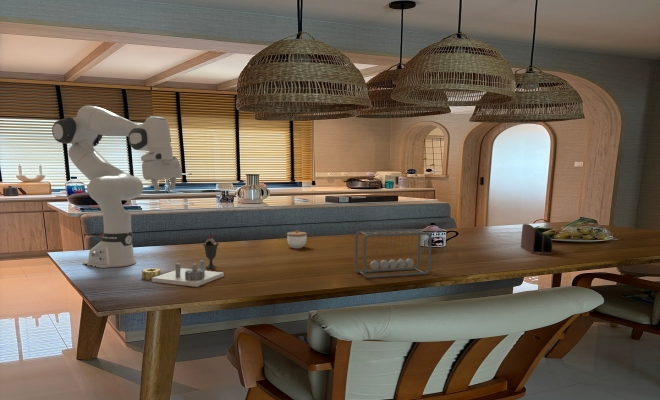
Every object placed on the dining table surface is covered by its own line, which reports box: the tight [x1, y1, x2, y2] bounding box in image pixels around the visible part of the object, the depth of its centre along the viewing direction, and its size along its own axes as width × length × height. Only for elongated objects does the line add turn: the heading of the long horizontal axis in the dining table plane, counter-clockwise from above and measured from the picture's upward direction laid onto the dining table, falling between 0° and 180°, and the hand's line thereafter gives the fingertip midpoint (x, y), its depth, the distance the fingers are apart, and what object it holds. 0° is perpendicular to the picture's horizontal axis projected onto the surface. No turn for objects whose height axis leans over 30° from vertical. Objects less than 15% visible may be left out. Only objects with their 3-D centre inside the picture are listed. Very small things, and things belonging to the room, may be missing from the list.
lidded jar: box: [286, 229, 308, 249], centre depth 261 cm, size 11×11×9 cm
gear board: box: [151, 259, 225, 288], centre depth 189 cm, size 20×18×7 cm
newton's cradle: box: [354, 228, 432, 279], centre depth 201 cm, size 30×10×18 cm, turn 108°
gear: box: [141, 267, 162, 281], centre depth 190 cm, size 7×7×3 cm
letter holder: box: [520, 223, 553, 255], centre depth 258 cm, size 10×20×14 cm, turn 175°
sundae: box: [202, 232, 220, 269], centre depth 210 cm, size 7×7×15 cm
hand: (165, 190), depth 198 cm, fingers open, 8 cm apart
